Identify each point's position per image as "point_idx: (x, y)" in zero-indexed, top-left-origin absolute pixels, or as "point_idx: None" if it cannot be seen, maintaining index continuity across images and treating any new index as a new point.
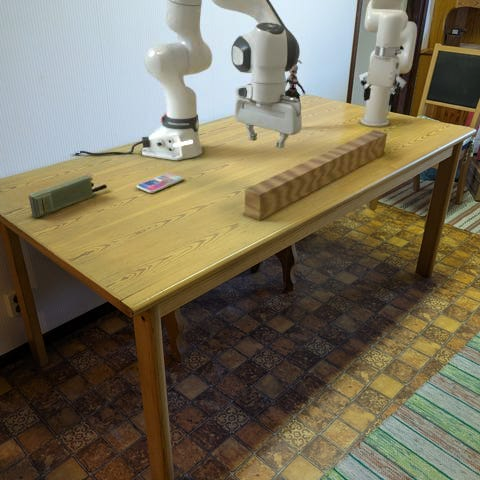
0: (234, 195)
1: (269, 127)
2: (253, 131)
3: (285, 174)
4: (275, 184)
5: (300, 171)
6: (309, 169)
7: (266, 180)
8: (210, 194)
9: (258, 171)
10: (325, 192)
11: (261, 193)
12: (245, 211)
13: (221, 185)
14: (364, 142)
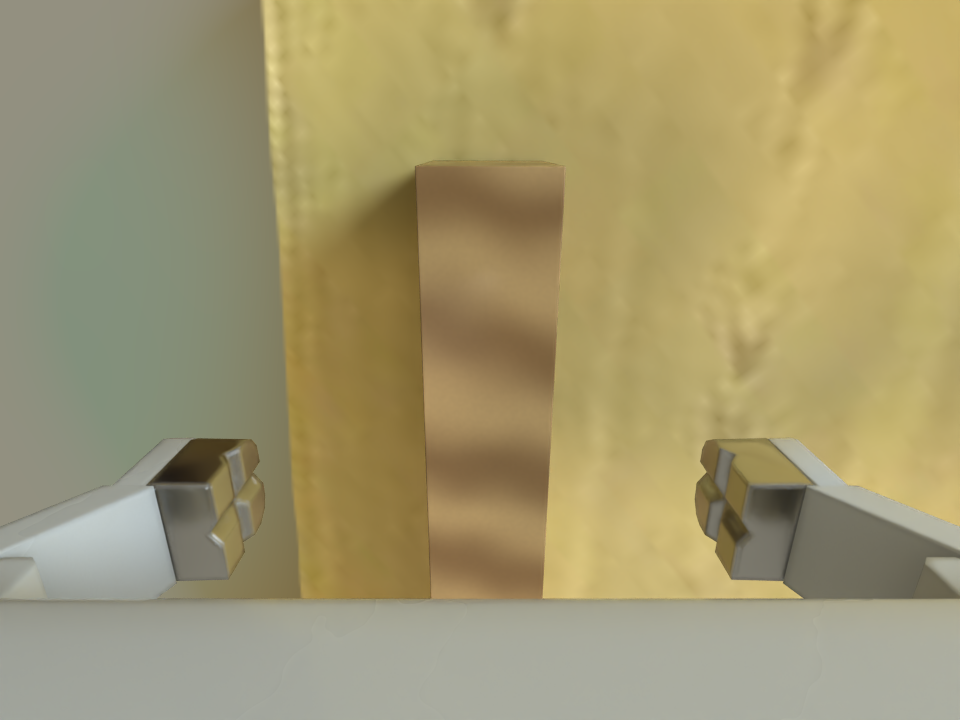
0: (737, 318)
1: (203, 637)
2: (816, 586)
3: (507, 539)
4: (453, 382)
5: None
6: None
7: (542, 394)
8: (866, 236)
9: None
10: None
11: (424, 193)
12: (537, 161)
13: (874, 369)
14: None
